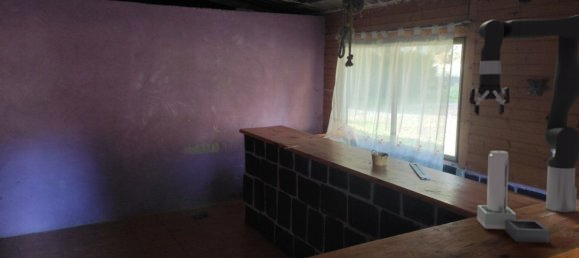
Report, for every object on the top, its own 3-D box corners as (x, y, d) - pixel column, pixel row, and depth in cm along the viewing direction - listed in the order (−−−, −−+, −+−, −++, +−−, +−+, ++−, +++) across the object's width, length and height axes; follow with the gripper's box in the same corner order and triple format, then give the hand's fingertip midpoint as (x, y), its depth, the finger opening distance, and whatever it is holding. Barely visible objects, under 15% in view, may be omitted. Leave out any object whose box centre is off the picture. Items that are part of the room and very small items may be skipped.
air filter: (502, 217, 159) (504, 149, 156) (509, 223, 153) (511, 153, 150) (483, 217, 160) (485, 150, 157) (490, 223, 153) (492, 153, 150)
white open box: (506, 220, 160) (506, 205, 160) (515, 229, 150) (516, 214, 150) (477, 219, 162) (477, 205, 161) (484, 228, 152) (485, 213, 151)
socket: (536, 231, 148) (537, 220, 147) (549, 242, 138) (549, 230, 137) (505, 231, 149) (505, 219, 149) (515, 241, 139) (516, 229, 139)
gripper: (506, 72, 171) (504, 113, 173) (468, 73, 173) (467, 114, 175) (512, 72, 164) (511, 115, 166) (473, 73, 166) (472, 115, 168)
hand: (488, 114), depth 170 cm, fingers open, 8 cm apart
